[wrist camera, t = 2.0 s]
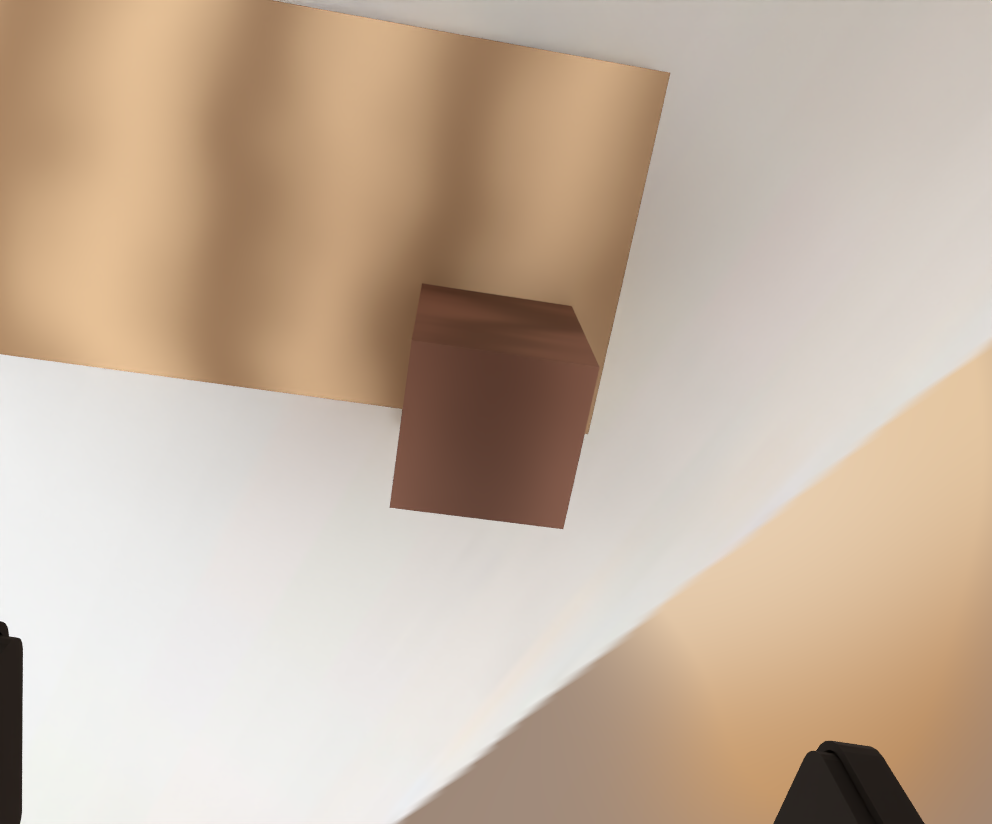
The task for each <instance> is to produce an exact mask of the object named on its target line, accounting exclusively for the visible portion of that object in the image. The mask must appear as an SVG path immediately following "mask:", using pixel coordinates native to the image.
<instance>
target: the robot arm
mask: <svg viewBox="0 0 992 824" xmlns="http://www.w3.org/2000/svg"><path fill="white" fill-rule="evenodd" d="M22 695H23V646H22V641H21V639H19V638H16V637H9V633H8V627H7V626H6V624H5V623H4V622H1V621H0V824H20V821H21V815H22ZM774 824H924V822H923V821H922V819H921V818H920V816H919V814H918V813H917V811H916V809H915V808H914V806H913V805H912V803H911V801H910V800H909V798H908V797H907V795H906V793H905V792H904V790H903V789H902V787H901V785H900V784H899V782H898V780H897V779H896V777H895V776H894V774H893V772H892V771H891V769H890V768H889V766H888V765H887V763H886V761H885V760H884V758H883V757H882V755H881V754H880V753H879V752H878V751H877V750H876V749H874V748H873V747H870V746H863V745H857V744H849V743H842V742H836V741H825V742H824V743H822V744H821V745H820V746H819V747H818V749H817V750H816V751H810V752H809V753H807V755H806V756H805V758H804V760H803V762H802V764H801V766H800V768H799V771H798V772H797V774H796V777H795V779H794V781H793V783H792V785H791V787H790V789H789V791H788V794H787V796H786V798H785V800H784V802H783V804H782V807H781V809H780V811H779V813H778V815H777V817H776V819H775V821H774Z"/></svg>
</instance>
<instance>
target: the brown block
mask: <svg viewBox="0 0 992 824" xmlns="http://www.w3.org/2000/svg"><path fill="white" fill-rule="evenodd" d="M599 368H600V367H599V365H598V362H597V360H596V358H595V356H594V354H593V352H592V349H591V347H590V345H589V343H588V341H587V338H586V336H585V334H584V332H583V330H582V327H581V325H580V323H579V321H578V319H577V316H576V314H575V312H574V310H573V308H572V306H568V305H562V304H555V303H549V302H542V301H535V300H529V299H522V298H515V297H509V296H502V295H496V294H489V293H482V292H476V291H469V290H463V289H456V288H449V287H443V286H436V285H430V284H423V283H422V287H421V292H420V297H419V303H418V308H417V314H416V319H415V325H414V330H413V335H412V341H411V349H410V356H409V364H408V372H407V379H406V387H405V395H404V402H403V410H402V418H401V425H400V433H399V441H398V448H397V456H396V464H395V471H394V479H393V486H392V494H391V502H390V508H397V509H406V510H414V511H422V512H430V513H438V514H446V515H454V516H462V517H470V518H478V519H486V520H494V521H502V522H510V523H518V524H527V525H535V526H543V527H551V528H559V529H563V527H564V523H565V519H566V514H567V510H568V505H569V501H570V496H571V492H572V488H573V483H574V479H575V474H576V470H577V465H578V461H579V457H580V452H581V448H582V443H583V439H584V434H585V430H586V426H587V421H588V417H589V412H590V408H591V403H592V399H593V395H594V390H595V386H596V381H597V377H598V372H599Z"/></svg>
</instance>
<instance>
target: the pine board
mask: <svg viewBox="0 0 992 824" xmlns="http://www.w3.org/2000/svg"><path fill="white" fill-rule="evenodd" d="M669 76H670V73H668V72H662V71H657V70H652V69H646V68H641V67H635V66H630V65H624V64H619V63H613V62H608V61H602V60H597V59H591V58H586V57H580V56H575V55H569V54H564V53H558V52H553V51H547V50H542V49H536V48H531V47H525V46H520V45H514V44H509V43H503V42H498V41H492V40H487V39H481V38H476V37H470V36H465V35H459V34H454V33H448V32H443V31H437V30H432V29H426V28H421V27H415V26H410V25H404V24H399V23H393V22H388V21H382V20H377V19H371V18H366V17H360V16H355V15H349V14H344V13H338V12H333V11H328V10H322V9H317V8H311V7H306V6H300V5H295V4H289V3H284V2H278V1H273V0H0V354H3V355H11V356H18V357H25V358H33V359H40V360H47V361H55V362H62V363H70V364H77V365H84V366H92V367H99V368H106V369H114V370H121V371H128V372H136V373H143V374H150V375H158V376H165V377H172V378H180V379H187V380H195V381H202V382H209V383H217V384H224V385H231V386H239V387H246V388H253V389H261V390H268V391H275V392H283V393H290V394H298V395H305V396H312V397H320V398H327V399H334V400H342V401H349V402H356V403H364V404H371V405H378V406H386V407H393V408H400V409H403V402H404V395H405V387H406V379H407V372H408V364H409V356H410V349H411V341H412V335H413V330H414V325H415V319H416V314H417V308H418V303H419V297H420V292H421V287H422V283H423V284H430V285H436V286H443V287H449V288H456V289H463V290H469V291H476V292H482V293H489V294H496V295H502V296H509V297H515V298H522V299H529V300H535V301H542V302H549V303H555V304H562V305H568V306H572V308H573V310H574V312H575V314H576V316H577V319H578V321H579V323H580V325H581V327H582V330H583V332H584V334H585V336H586V338H587V341H588V343H589V345H590V347H591V349H592V352H593V354H594V356H595V358H596V360H597V362H598V365H599V367H600V368H599V372H598V377H597V381H596V386H595V390H594V395H593V399H592V403H591V408H590V412H589V417H588V421H587V426H586V430H585V434H588V432H589V428H590V423H591V419H592V414H593V410H594V406H595V401H596V397H597V392H598V388H599V384H600V379H601V375H602V370H603V366H604V362H605V357H606V353H607V348H608V344H609V340H610V335H611V331H612V327H613V322H614V318H615V313H616V309H617V305H618V300H619V296H620V291H621V287H622V283H623V278H624V274H625V269H626V265H627V261H628V256H629V252H630V247H631V243H632V239H633V234H634V230H635V225H636V221H637V217H638V212H639V208H640V204H641V199H642V195H643V190H644V186H645V182H646V177H647V173H648V168H649V164H650V160H651V155H652V151H653V146H654V142H655V138H656V133H657V129H658V124H659V120H660V116H661V111H662V107H663V103H664V98H665V94H666V89H667V85H668V81H669Z"/></svg>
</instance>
